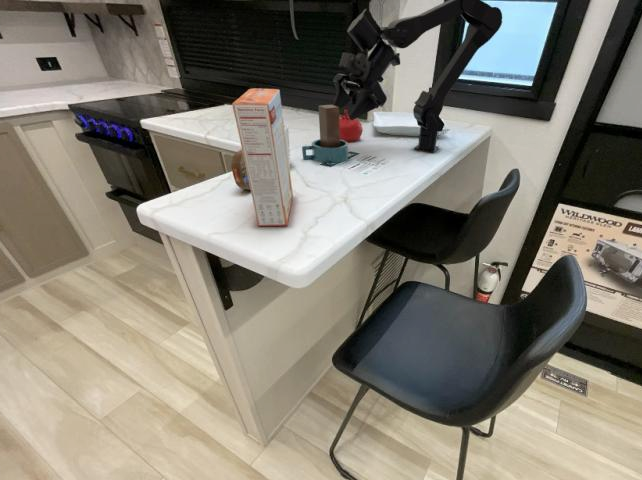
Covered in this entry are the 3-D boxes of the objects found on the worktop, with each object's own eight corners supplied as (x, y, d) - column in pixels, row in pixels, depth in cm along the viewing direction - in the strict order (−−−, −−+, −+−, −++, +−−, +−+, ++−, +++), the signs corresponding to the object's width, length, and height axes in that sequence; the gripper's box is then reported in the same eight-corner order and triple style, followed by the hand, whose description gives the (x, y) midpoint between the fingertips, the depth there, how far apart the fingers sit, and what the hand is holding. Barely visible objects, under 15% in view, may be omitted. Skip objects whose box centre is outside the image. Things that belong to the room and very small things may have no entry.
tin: (247, 195, 74) (239, 156, 69) (234, 194, 74) (225, 155, 69) (275, 173, 85) (270, 138, 80) (263, 172, 86) (258, 137, 80)
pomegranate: (367, 142, 112) (368, 111, 106) (342, 146, 107) (341, 114, 101) (352, 135, 118) (352, 106, 112) (327, 139, 113) (326, 108, 107)
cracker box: (266, 197, 73) (248, 87, 60) (294, 197, 74) (281, 88, 61) (255, 227, 63) (229, 100, 49) (287, 227, 63) (270, 101, 50)
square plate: (448, 140, 118) (451, 128, 115) (372, 137, 117) (373, 125, 115) (437, 123, 139) (439, 112, 136) (372, 120, 138) (373, 110, 136)
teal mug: (342, 153, 101) (342, 137, 98) (352, 164, 94) (352, 147, 91) (300, 156, 97) (298, 139, 95) (306, 167, 90) (305, 149, 87)
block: (332, 154, 98) (331, 104, 89) (340, 158, 95) (339, 107, 87) (321, 156, 96) (318, 105, 87) (328, 160, 93) (326, 108, 85)
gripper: (338, 37, 88) (304, 87, 90) (380, 41, 77) (341, 98, 79) (361, 72, 97) (330, 117, 99) (402, 80, 86) (367, 131, 87)
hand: (341, 115), depth 91 cm, fingers open, 9 cm apart
